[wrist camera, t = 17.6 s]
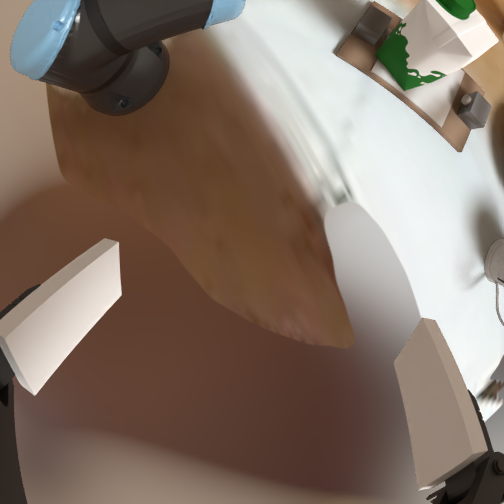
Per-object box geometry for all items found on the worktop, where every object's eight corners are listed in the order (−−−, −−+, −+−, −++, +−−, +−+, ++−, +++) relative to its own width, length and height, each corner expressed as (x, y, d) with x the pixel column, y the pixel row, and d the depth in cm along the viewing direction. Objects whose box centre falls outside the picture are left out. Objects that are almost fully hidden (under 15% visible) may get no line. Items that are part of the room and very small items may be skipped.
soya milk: (401, 34, 30) (462, -25, 10) (436, 78, 31) (515, 40, 12) (366, 52, 31) (423, -17, 12) (404, 99, 33) (486, 59, 14)
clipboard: (336, 55, 33) (343, 42, 28) (372, 3, 29) (381, -11, 25) (458, 152, 35) (475, 151, 30) (481, 93, 31) (497, 88, 26)
